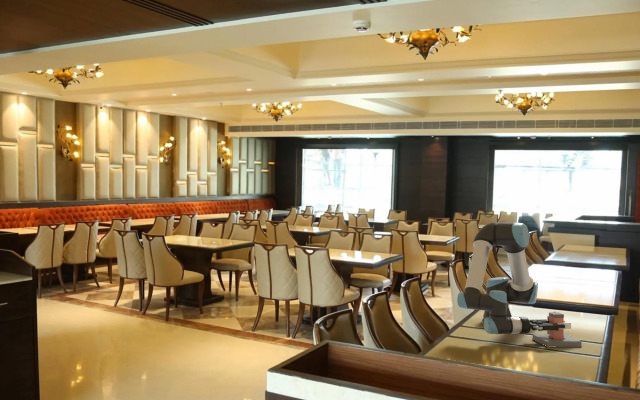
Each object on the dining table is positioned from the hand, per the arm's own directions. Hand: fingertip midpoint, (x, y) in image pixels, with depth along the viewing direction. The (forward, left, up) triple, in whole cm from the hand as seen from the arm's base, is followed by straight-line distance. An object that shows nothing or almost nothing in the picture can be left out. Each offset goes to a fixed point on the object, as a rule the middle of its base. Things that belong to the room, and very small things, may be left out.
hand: (567, 324), depth 256 cm
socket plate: (0, -5, -8) cm, 10 cm away
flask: (-18, +4, -9) cm, 20 cm away
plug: (0, -5, -7) cm, 9 cm away
